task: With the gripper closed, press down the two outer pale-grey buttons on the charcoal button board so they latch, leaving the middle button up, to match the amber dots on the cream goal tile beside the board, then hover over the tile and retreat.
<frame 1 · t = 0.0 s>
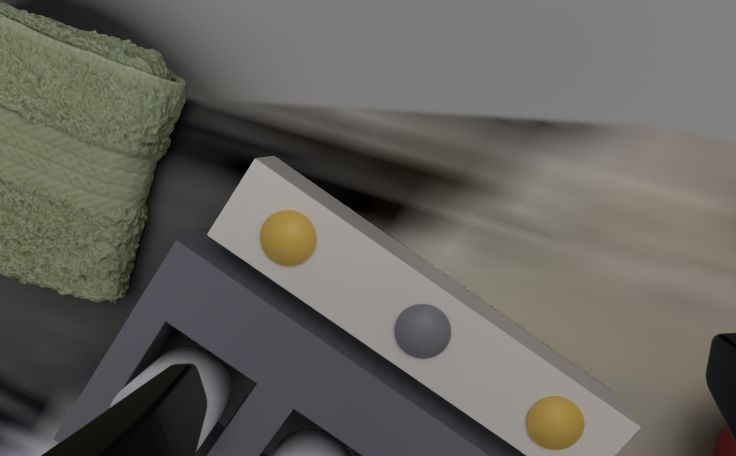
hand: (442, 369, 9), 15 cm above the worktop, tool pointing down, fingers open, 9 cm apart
washcloth: (11, 133, 26), on the worktop
goal tile: (421, 307, 25), on the worktop
board: (320, 440, 27), on the worktop
button c: (173, 405, 22), point 4 cm above the worktop, slide at 0.0 cm
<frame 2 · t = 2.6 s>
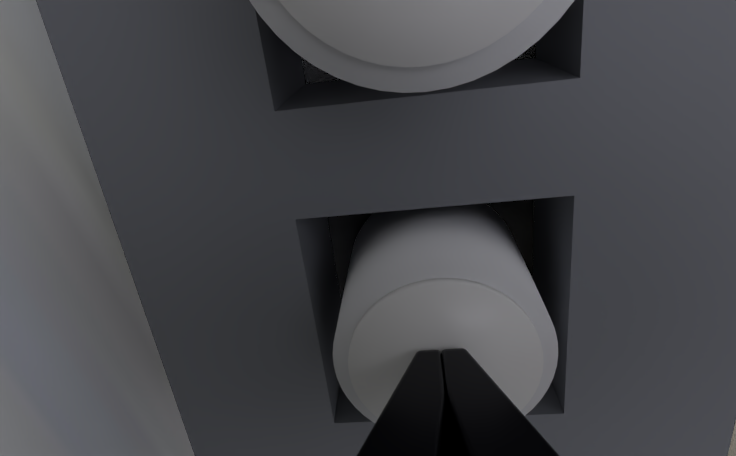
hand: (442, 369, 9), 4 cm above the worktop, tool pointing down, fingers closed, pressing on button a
button a: (437, 309, 11), point 2 cm above the worktop, slide at 1.6 cm, touching gripper
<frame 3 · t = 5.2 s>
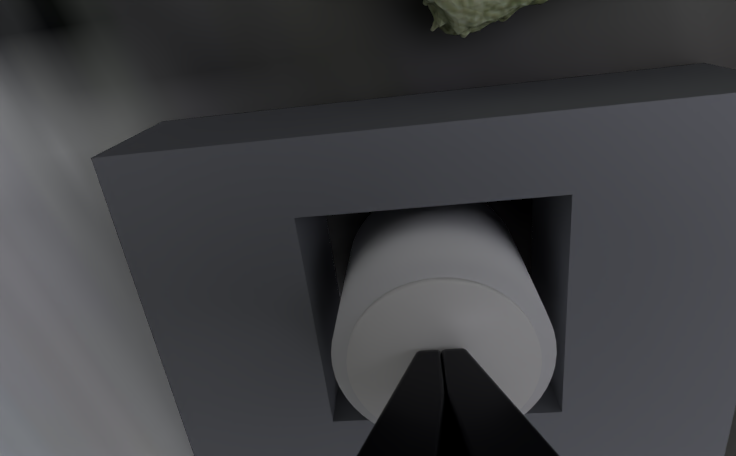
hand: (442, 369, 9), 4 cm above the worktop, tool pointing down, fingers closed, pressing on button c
board: (445, 455, 16), on the worktop
button c: (436, 308, 11), point 3 cm above the worktop, slide at 1.5 cm, touching gripper
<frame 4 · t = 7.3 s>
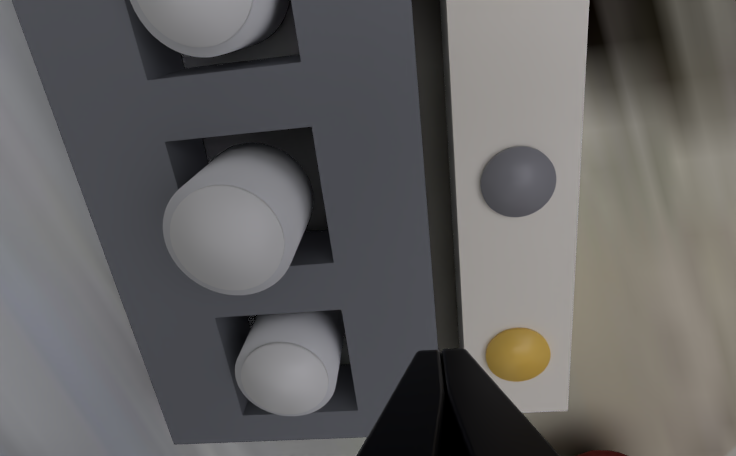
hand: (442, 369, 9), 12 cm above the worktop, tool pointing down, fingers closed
button b: (244, 216, 17), point 4 cm above the worktop, slide at 0.0 cm
onion: (585, 453, 26), on the worktop
goal tile: (501, 155, 20), on the worktop
board: (272, 177, 20), on the worktop
button a: (293, 350, 21), point 2 cm above the worktop, slide at 2.0 cm
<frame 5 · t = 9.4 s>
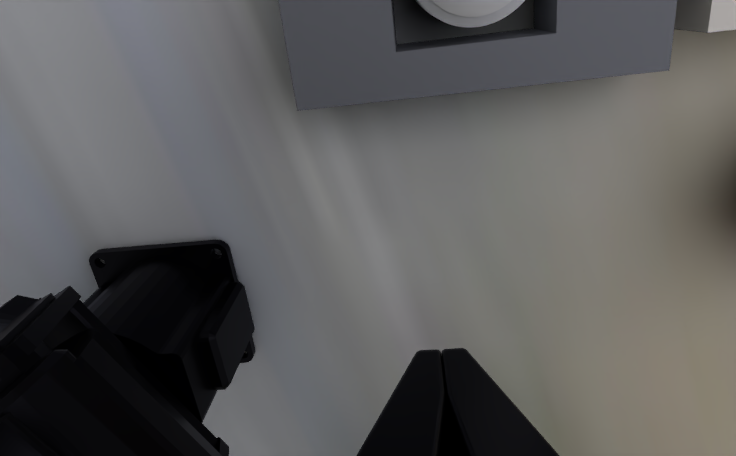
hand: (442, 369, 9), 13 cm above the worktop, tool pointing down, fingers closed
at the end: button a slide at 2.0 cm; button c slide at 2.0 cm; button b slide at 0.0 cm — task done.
